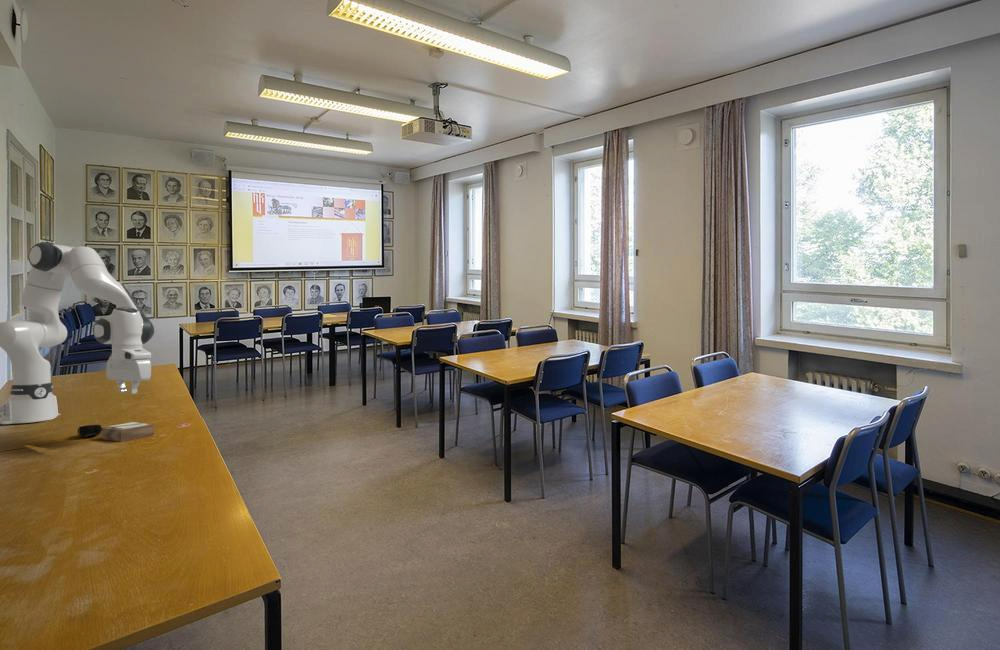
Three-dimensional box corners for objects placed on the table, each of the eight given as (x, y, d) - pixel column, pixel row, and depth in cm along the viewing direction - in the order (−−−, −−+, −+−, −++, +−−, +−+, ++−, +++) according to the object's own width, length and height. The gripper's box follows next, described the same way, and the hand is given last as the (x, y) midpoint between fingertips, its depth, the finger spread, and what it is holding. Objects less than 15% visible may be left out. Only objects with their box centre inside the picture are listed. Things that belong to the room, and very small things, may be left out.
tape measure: (101, 433, 186) (100, 423, 187) (76, 437, 182) (76, 426, 183) (103, 434, 192) (102, 424, 192) (79, 438, 188) (78, 427, 188)
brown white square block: (101, 438, 184) (101, 426, 184) (135, 432, 194) (134, 421, 194) (120, 441, 179) (120, 429, 179) (153, 435, 189) (153, 423, 189)
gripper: (100, 353, 188) (100, 392, 188) (135, 354, 179) (136, 395, 180) (119, 352, 194) (119, 390, 194) (154, 353, 185) (155, 393, 185)
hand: (128, 392), depth 187 cm, fingers open, 5 cm apart
